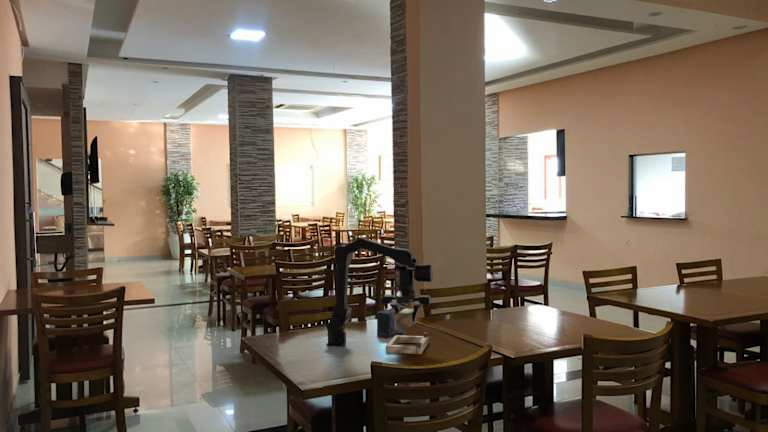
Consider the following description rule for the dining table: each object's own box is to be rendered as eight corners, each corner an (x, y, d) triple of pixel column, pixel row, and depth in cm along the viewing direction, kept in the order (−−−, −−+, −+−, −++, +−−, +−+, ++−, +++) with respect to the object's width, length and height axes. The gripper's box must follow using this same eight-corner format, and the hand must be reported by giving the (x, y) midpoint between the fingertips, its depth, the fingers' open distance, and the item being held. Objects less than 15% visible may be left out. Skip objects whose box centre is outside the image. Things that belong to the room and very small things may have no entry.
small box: (388, 338, 257) (388, 313, 257) (376, 336, 261) (375, 311, 261) (403, 333, 266) (403, 309, 265) (391, 332, 270) (390, 308, 269)
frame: (396, 327, 237) (396, 313, 236) (404, 320, 248) (404, 308, 248) (408, 327, 235) (408, 314, 235) (417, 321, 246) (416, 308, 246)
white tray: (385, 352, 234) (385, 342, 234) (395, 341, 252) (395, 331, 252) (421, 354, 231) (421, 343, 231) (428, 342, 249) (428, 332, 249)
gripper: (378, 284, 235) (378, 325, 236) (426, 284, 231) (427, 326, 232) (384, 280, 246) (385, 319, 246) (431, 280, 242) (431, 320, 242)
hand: (406, 321), depth 241 cm, fingers closed on frame, 5 cm apart
